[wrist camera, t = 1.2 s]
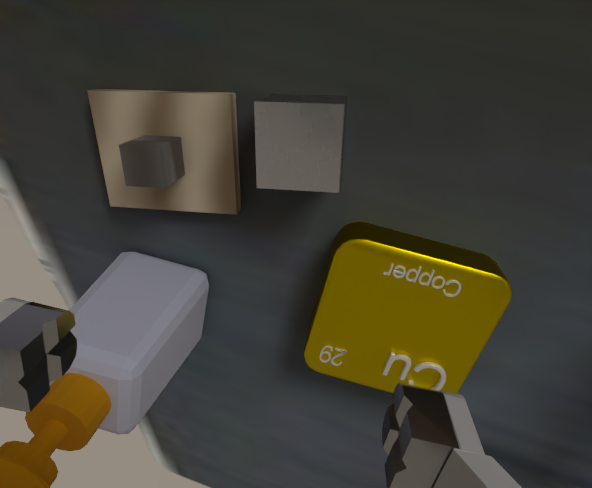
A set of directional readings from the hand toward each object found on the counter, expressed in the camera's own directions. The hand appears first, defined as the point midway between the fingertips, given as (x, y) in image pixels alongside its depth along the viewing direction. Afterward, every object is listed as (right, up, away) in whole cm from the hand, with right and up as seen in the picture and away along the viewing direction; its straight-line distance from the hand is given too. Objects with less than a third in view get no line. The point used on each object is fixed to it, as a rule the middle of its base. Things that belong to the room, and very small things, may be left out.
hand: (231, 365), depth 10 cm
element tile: (+11, -3, +29) cm, 32 cm away
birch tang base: (-9, +11, +25) cm, 29 cm away
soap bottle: (-13, -4, +33) cm, 36 cm away
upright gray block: (+3, +12, +23) cm, 26 cm away
